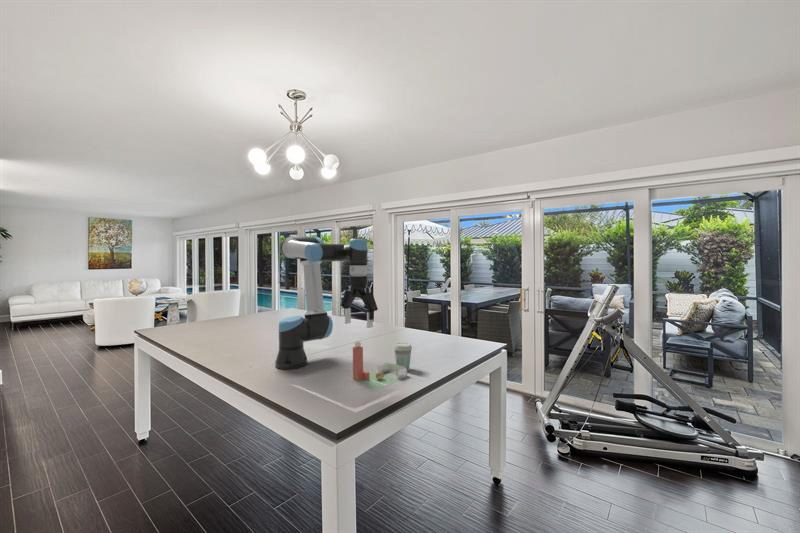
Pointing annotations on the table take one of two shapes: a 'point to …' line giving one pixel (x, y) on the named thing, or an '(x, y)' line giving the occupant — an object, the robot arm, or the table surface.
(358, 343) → the red inhaler
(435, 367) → the table surface
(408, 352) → the coffee cup
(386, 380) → the pitch
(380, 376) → the ball
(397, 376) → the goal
